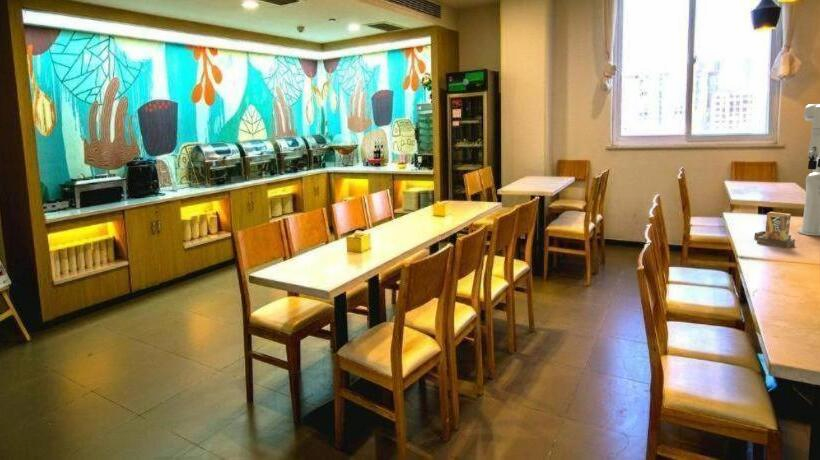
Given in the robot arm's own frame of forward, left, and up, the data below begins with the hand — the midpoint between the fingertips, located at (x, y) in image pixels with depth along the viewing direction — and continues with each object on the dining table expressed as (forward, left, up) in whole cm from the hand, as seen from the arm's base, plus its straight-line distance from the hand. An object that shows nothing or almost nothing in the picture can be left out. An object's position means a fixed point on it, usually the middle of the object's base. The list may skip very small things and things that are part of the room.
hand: (816, 168), depth 263 cm
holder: (+14, -9, -36) cm, 39 cm away
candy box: (+17, -7, -36) cm, 41 cm away
